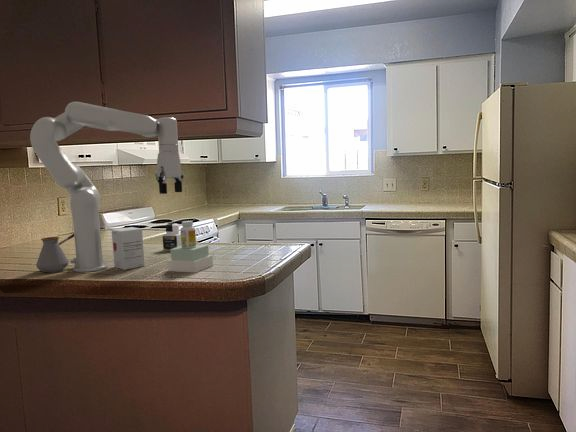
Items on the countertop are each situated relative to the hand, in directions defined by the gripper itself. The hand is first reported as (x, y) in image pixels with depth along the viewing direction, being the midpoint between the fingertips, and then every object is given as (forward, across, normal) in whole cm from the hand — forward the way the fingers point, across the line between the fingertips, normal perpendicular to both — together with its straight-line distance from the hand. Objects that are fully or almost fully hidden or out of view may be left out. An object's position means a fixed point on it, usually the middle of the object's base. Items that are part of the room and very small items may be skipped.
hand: (171, 192), depth 198 cm
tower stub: (+28, +9, +14) cm, 33 cm away
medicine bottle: (+28, -26, -20) cm, 43 cm away
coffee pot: (+29, +21, -37) cm, 51 cm away
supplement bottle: (+20, +9, +14) cm, 26 cm away
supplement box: (+28, +12, -13) cm, 33 cm away
